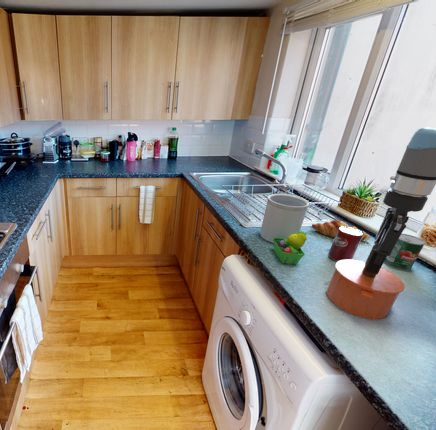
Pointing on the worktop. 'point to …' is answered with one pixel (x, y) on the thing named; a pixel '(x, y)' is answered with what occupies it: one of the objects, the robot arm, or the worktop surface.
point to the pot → (359, 298)
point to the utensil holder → (283, 216)
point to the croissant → (335, 228)
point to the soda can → (345, 244)
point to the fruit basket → (290, 247)
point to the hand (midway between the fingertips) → (371, 268)
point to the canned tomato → (405, 252)
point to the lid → (369, 276)
